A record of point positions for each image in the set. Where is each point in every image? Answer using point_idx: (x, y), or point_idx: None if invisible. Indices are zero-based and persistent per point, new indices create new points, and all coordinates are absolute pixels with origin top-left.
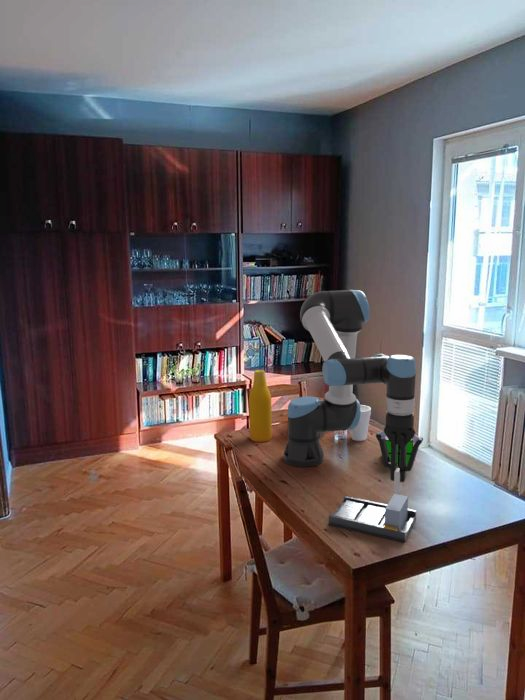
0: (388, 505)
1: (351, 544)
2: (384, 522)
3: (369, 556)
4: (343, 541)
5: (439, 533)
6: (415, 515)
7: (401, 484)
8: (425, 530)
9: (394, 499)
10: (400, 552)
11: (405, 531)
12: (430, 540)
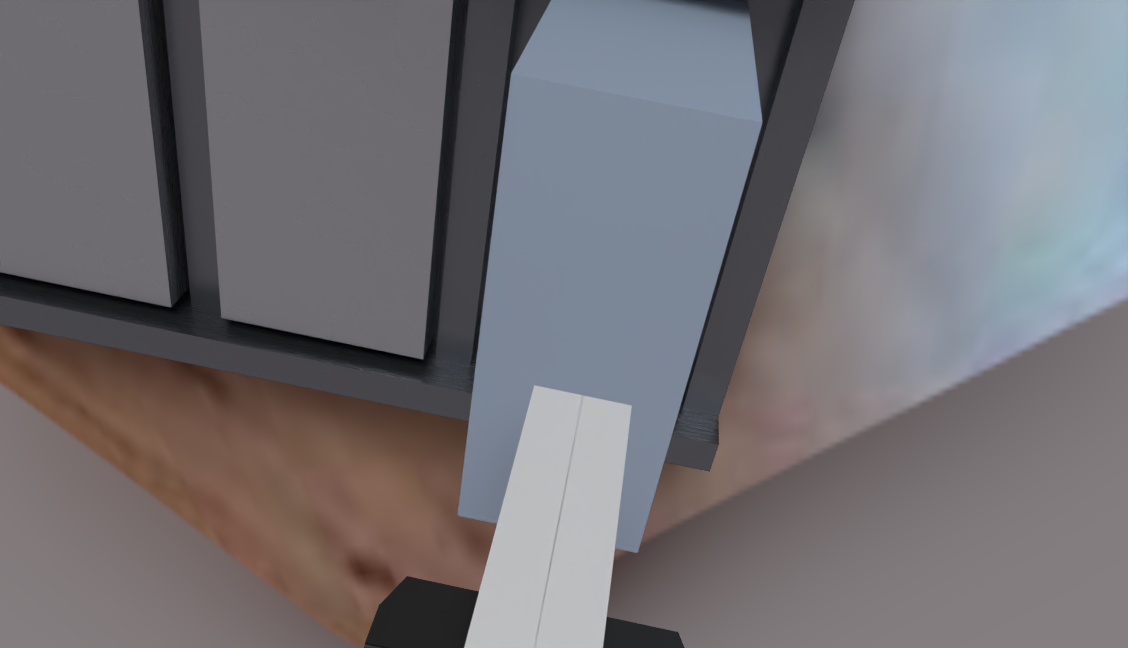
0: (482, 444)
1: (297, 480)
2: (486, 233)
3: (460, 583)
4: (226, 455)
5: (1112, 177)
6: None
7: (619, 500)
8: (953, 147)
9: (540, 277)
10: (676, 520)
11: (715, 450)
12: (968, 325)
